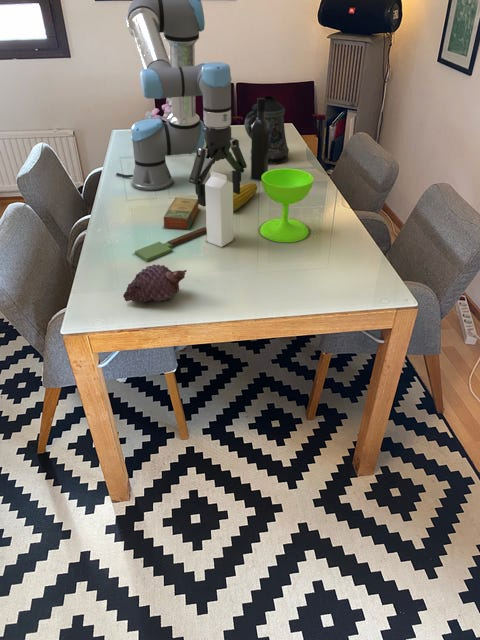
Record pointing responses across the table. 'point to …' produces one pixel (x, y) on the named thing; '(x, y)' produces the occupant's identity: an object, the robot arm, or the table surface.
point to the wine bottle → (259, 142)
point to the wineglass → (285, 203)
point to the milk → (219, 209)
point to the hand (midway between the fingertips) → (219, 198)
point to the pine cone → (154, 284)
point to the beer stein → (272, 129)
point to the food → (244, 194)
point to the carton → (181, 213)
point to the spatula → (166, 245)
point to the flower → (153, 115)
